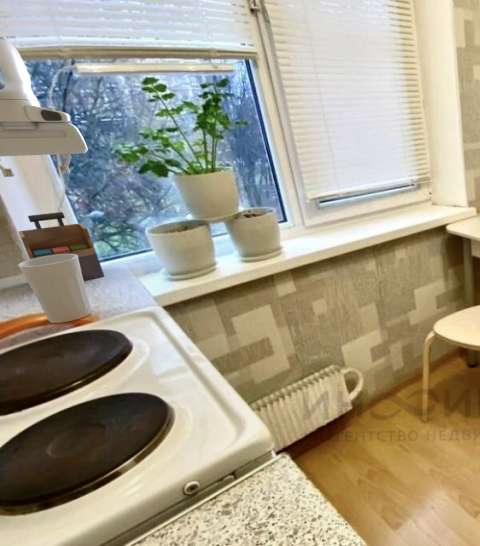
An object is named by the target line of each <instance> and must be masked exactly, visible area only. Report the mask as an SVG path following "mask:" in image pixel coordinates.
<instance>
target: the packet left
mask: <svg viewBox="0 0 480 546" xmlns="http://www.w3.org/2000/svg"><path fill="white" fill-rule="evenodd" d="M33 253H34V255H35V257H40V256H47V255H53V254H52V252H51V250H50V249H44V250H38V251H33Z"/></svg>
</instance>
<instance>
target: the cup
mask: <svg viewBox="0 0 480 546" xmlns="http://www.w3.org/2000/svg"><path fill="white" fill-rule="evenodd" d="M17 266H18V267H19V269H20V271H21V273H22V274H23V276H24V278H25V280H26V281H27V283H28V285H29V287H30V288H31V290H32V292H33V294H34V296H35V298H36V299H37V301H38V303H39V304H40V307H41V309H42V310H43V312H44V314H45V315H46V318H47V320H48V322H49V321H50V322H49V323H50V324H51V323H52V324H60V323H67V322H73V321H76V320H79V319H83V318H86V317H87V316H89V315H91V314H92V313H93V307H91V304H90V300H89V296H88V293H87V288H86V285H85V282H84V281H85V280H84V281H83V277H82V273H81V268H80V264H79V259H78V255H76V254H59V255H51V256H45V257H39V258H35V259H31V260H30V259H27V260H25V261H21V262H19V263H18V264H17Z"/></svg>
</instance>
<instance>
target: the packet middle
mask: <svg viewBox="0 0 480 546" xmlns="http://www.w3.org/2000/svg"><path fill="white" fill-rule="evenodd" d="M51 249H52V252H53V254H59V253H65V252H71V251H70V249H69V248H68V247H67V246H63V247H57V248H51Z"/></svg>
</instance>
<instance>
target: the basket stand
mask: <svg viewBox="0 0 480 546" xmlns="http://www.w3.org/2000/svg"><path fill="white" fill-rule="evenodd" d="M78 259H79V264H80V268H81V273H82V277H83V281H87V280H93V279H98V278H102V277H105V273H104V271H103V268H102V265H101V263H100V260H99V257H98V253H96V254H94V255H88V256H83V257H78Z"/></svg>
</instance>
